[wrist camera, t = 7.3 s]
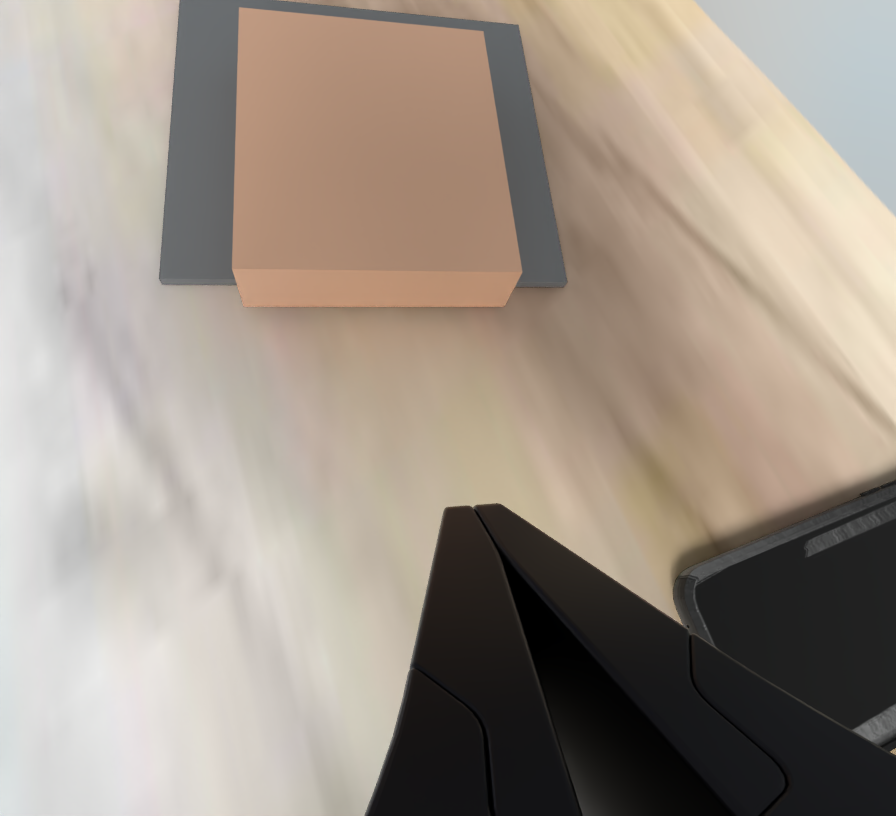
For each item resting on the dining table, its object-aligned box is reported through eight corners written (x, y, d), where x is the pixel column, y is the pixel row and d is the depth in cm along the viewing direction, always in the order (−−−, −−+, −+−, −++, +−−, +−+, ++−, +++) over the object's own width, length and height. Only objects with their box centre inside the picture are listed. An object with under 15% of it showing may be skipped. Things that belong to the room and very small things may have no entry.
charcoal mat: (563, 287, 25) (567, 282, 24) (162, 284, 21) (159, 278, 21) (516, 32, 29) (518, 24, 29) (182, -1, 26) (180, -10, 26)
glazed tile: (522, 272, 21) (483, 31, 25) (231, 268, 19) (238, 7, 23) (503, 308, 23) (470, 84, 27) (244, 308, 21) (248, 66, 25)
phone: (1076, 642, 22) (780, 816, 18) (1044, 640, 23) (756, 805, 19) (961, 454, 24) (672, 573, 20) (935, 461, 25) (656, 575, 21)
